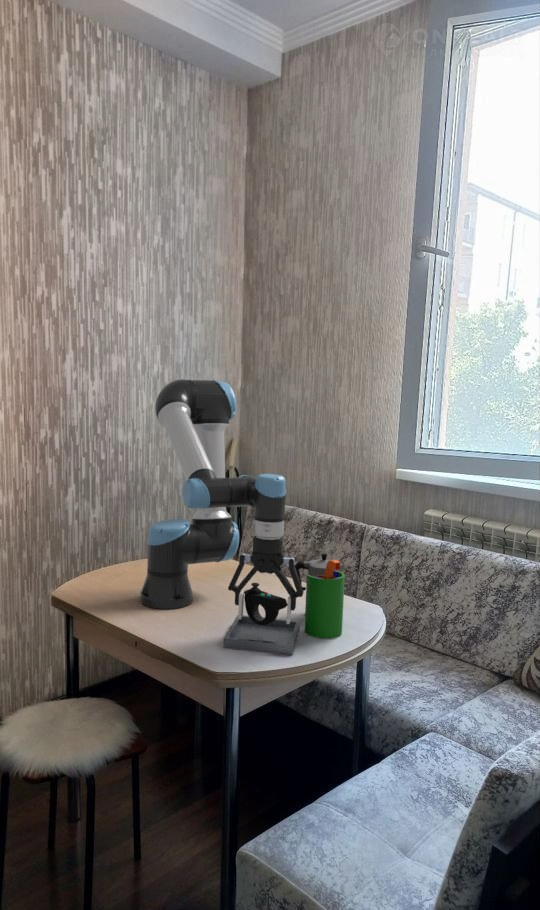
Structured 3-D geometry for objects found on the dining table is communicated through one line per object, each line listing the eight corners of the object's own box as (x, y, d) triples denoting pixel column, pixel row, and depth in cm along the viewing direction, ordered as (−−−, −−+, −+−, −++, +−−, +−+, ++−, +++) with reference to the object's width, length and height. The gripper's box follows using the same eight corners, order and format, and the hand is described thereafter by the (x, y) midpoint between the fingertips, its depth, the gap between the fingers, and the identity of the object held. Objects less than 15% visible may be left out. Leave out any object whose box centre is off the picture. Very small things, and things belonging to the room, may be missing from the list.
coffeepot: (338, 609, 201) (342, 549, 199) (348, 621, 192) (352, 558, 190) (286, 610, 198) (290, 549, 196) (294, 622, 189) (297, 558, 187)
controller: (250, 616, 181) (252, 579, 180) (288, 628, 173) (290, 590, 172) (239, 620, 177) (241, 583, 176) (277, 633, 170) (280, 594, 169)
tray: (237, 623, 185) (237, 614, 185) (299, 630, 183) (300, 621, 183) (223, 648, 169) (224, 638, 168) (292, 655, 166) (293, 645, 166)
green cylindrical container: (321, 622, 189) (325, 551, 187) (349, 631, 184) (353, 558, 181) (299, 632, 181) (303, 558, 179) (327, 642, 176) (332, 565, 174)
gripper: (218, 535, 171) (215, 620, 173) (314, 543, 167) (310, 629, 170) (224, 529, 178) (221, 610, 181) (317, 536, 175) (312, 619, 177)
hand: (264, 619), depth 175 cm, fingers closed on controller, 12 cm apart
